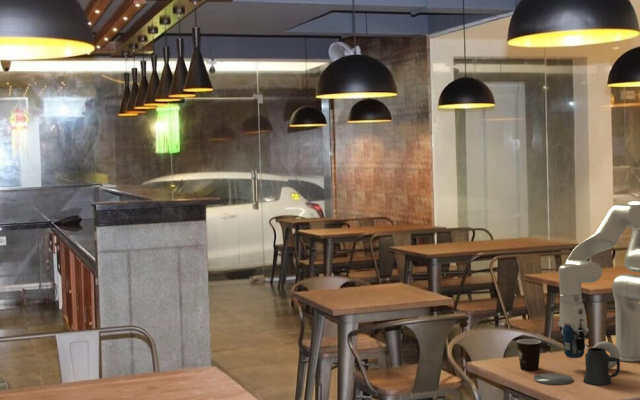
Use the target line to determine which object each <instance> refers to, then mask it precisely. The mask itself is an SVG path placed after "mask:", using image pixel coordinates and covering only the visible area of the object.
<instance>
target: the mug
mask: <svg viewBox="0 0 640 400" xmlns="http://www.w3.org/2000/svg"><path fill="white" fill-rule="evenodd" d="M584 355H585V356H584V357H585V358H584V362H585V373H584V376H583V379H582V380H583V381H582V382H583V384H586V385H590V386H608V385H610V384H612V381H611V379H613V378H615V377H617V376H618V375H619V373H620V370H621V361H620V359H619V358H613V357H610V354H609V353H607V351H605V349H603V348H593V347H590V348H589V347H588V349H587V351H586V353H585V354H584ZM609 361H610V362H612V361H616V363H617V365H616V370H615V372H613V373H612V374H609V369H608V364H609Z"/></svg>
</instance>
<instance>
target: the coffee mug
mask: <svg viewBox="0 0 640 400" xmlns="http://www.w3.org/2000/svg"><path fill="white" fill-rule="evenodd" d="M541 345H542V341H541V340H539V339H535V338H521V339H518V340H516V346H517V353H518V360H519V367H520V369H521V370H522V371H526V372H527V371H528V372H533V371H534V372H535V371H538V370H539V368H540V367H539V365H540V357H541V347H542V346H541Z"/></svg>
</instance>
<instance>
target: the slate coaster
mask: <svg viewBox="0 0 640 400" xmlns="http://www.w3.org/2000/svg"><path fill="white" fill-rule="evenodd" d="M533 380H534V382H535V383H539V384H542V385H550V386H557V385H558V386H561V385H568V384H571V383H572V382H574V378H573V377H572V376H570V375H568V374H564V373H563V374H562V373H540V374H539V373H538V374H536V375H534V376H533Z"/></svg>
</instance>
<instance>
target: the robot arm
mask: <svg viewBox="0 0 640 400" xmlns="http://www.w3.org/2000/svg"><path fill="white" fill-rule="evenodd" d="M626 228H630V229H631V235H630V240H629V243H628V247H627V250H626V253H625V255H624V260H623V261H624V262H623V264H624V267H625V269H626V270H628V271H630V272H632V273H633V272H634V273H637V274H631V273H622V274H618V275H617V276H615V278H614V279H613V280H612V284H611V288H612V295H613V299H614V306H615V311H614V312H615V346H616V347H617V349H618V350H619V353H620V362H631V363H633V362H635V363H636V362H640V275H638V273H639V274H640V198H639V199H632V200H631V199H630V200H629V201H627V203H615V204H613V205H611V206H610V208H609V209H608V210H607V212H606V214H605V215H604V217H603V218H602V219H601V222H600V224H599V225H598V226H597V229H596V230H595V232H594V233H593V234H592V235H590V236H589V237H587V238H586V239H584V240H583V241H582V242H580V243H579V244H578V245H576V246H575V247H574V248H573V249H572V251H571V252H570V254H569V255H568V257H567V259H566V260H565V262H564V264H561V265H559V267H558V285H559V286H558V287H559V301H560V302H559V320H558V321H557V325H558V327H559V331H560V333H561V335H562V337H563V327H564V324H565V325H571V328H572V329H573V331H575V332H576V336H577V339H576V344H577V350H583V349H584V350H585V349H586V342H585V341H586V340H585V339H586V336H587V335H588V333H589V331H590V329H589V327H588V321H587V315H586V314H587V313H586V309H585V304H584V302H583V296H582V284H584V283H587V284H588V283H595V282H597V281H598V280H600V279H601V277H602V275H603V268H602V267H601V266H600V264H599V263H597V262H594V261H589V260H588V259H590V258H591V257H592V256H594V255H597V254H600V253H602V252H606V251H608V250H610V249H612V248H614V247H615V246H616V245H617V244H618V241H619V239H620V238H621V236H622V235H623V233H624V231H625V230H626ZM578 328H581V330H578ZM579 332H581V334H580V335H579ZM562 346H563V347H564V339H563V338H562Z"/></svg>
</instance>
